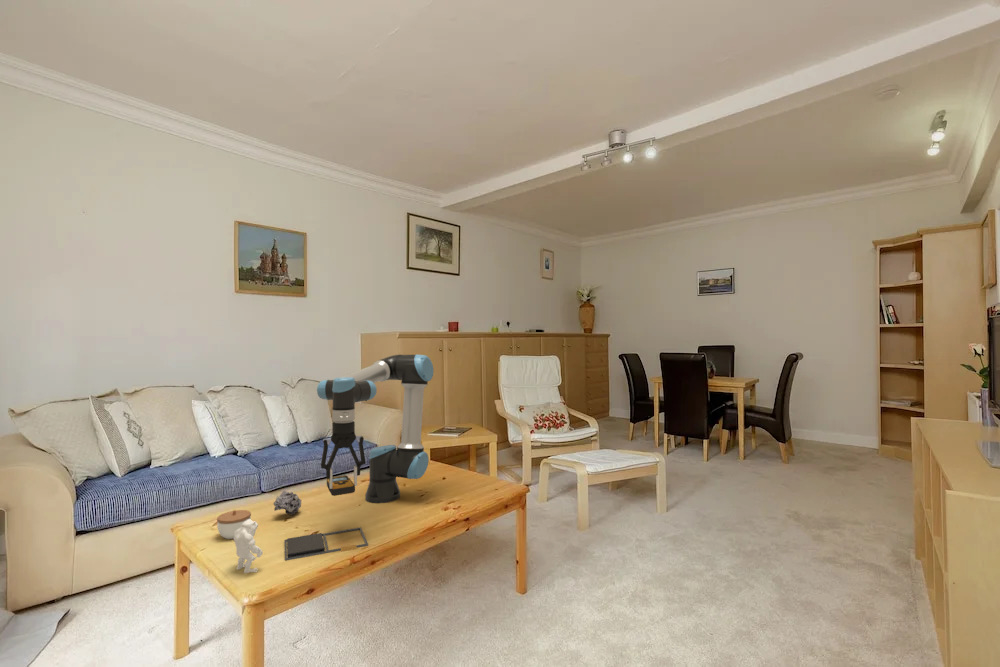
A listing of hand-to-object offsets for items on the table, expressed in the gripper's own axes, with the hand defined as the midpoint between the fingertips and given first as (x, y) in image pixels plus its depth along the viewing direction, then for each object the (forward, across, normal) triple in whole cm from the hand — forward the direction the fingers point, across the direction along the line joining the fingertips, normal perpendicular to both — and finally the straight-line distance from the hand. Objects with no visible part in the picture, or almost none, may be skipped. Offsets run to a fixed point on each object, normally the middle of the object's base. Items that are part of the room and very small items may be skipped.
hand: (343, 486), depth 168 cm
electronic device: (+5, 0, -1) cm, 5 cm away
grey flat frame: (+19, -6, -1) cm, 20 cm away
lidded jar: (+20, -36, +21) cm, 46 cm away
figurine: (+20, -29, -10) cm, 37 cm away
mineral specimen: (+20, -18, +34) cm, 43 cm away
